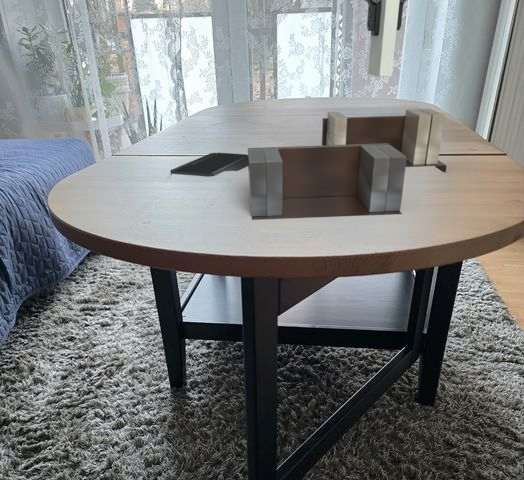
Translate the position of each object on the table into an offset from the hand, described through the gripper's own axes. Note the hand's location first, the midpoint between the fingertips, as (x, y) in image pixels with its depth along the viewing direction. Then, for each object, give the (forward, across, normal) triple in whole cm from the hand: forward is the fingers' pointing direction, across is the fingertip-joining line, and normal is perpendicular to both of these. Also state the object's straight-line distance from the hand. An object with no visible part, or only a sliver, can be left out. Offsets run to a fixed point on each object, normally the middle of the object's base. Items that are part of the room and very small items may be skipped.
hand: (383, 34), depth 72 cm
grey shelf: (+18, -12, -23) cm, 31 cm away
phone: (+18, -25, +2) cm, 31 cm away
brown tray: (+18, +2, 0) cm, 18 cm away
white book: (+5, 0, 0) cm, 5 cm away
